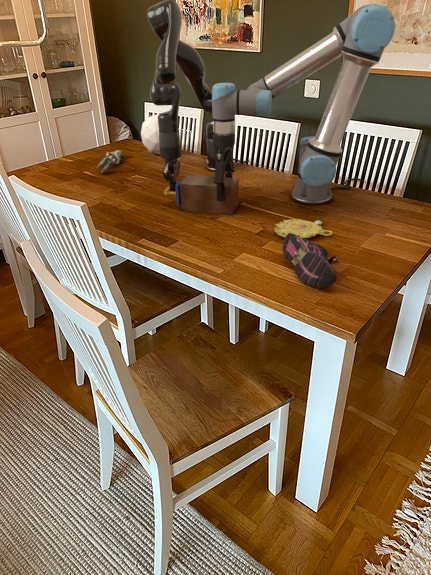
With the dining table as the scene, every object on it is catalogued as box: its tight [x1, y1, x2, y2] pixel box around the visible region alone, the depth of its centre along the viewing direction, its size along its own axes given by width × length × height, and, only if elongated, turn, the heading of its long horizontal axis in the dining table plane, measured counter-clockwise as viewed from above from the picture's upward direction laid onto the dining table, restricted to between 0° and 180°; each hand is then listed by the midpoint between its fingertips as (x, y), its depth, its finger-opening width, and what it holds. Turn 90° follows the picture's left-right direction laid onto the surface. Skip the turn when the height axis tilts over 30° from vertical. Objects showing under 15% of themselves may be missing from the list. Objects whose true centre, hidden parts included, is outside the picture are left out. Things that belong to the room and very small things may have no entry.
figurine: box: [96, 150, 123, 174], centre depth 213 cm, size 7×8×30 cm
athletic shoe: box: [282, 233, 341, 288], centre depth 122 cm, size 11×22×12 cm
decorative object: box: [273, 218, 333, 239], centre depth 145 cm, size 21×2×20 cm
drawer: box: [163, 177, 186, 208], centre depth 165 cm, size 23×9×8 cm, turn 74°
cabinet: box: [180, 174, 240, 216], centre depth 164 cm, size 19×10×10 cm, turn 74°
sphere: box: [140, 113, 160, 156], centre depth 225 cm, size 19×20×20 cm
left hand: (173, 190), depth 167 cm, fingers closed
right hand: (224, 195), depth 162 cm, fingers closed on cabinet, 10 cm apart
